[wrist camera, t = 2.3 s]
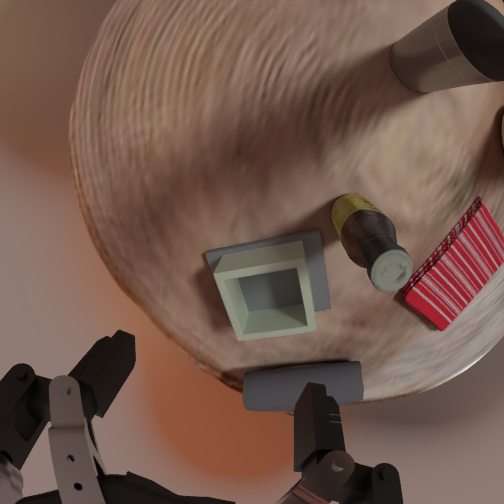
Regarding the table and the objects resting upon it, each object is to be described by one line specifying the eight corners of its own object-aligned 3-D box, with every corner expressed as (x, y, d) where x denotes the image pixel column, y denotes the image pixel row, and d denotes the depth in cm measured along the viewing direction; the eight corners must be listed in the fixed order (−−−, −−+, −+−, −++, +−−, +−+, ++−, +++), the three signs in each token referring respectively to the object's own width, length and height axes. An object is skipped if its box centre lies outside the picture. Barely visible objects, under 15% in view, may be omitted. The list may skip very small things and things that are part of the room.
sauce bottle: (375, 218, 38) (433, 287, 20) (340, 238, 40) (375, 319, 22) (356, 181, 36) (415, 226, 18) (320, 202, 38) (348, 263, 20)
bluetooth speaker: (255, 385, 57) (249, 420, 48) (246, 358, 53) (238, 396, 44) (355, 375, 52) (361, 411, 43) (357, 346, 49) (365, 384, 40)
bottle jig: (319, 229, 40) (324, 248, 33) (330, 304, 45) (335, 331, 39) (206, 250, 44) (193, 271, 37) (231, 319, 49) (223, 345, 42)
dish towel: (395, 290, 43) (400, 298, 41) (476, 193, 33) (484, 197, 31) (437, 329, 46) (442, 337, 43) (507, 248, 36) (514, 254, 34)
